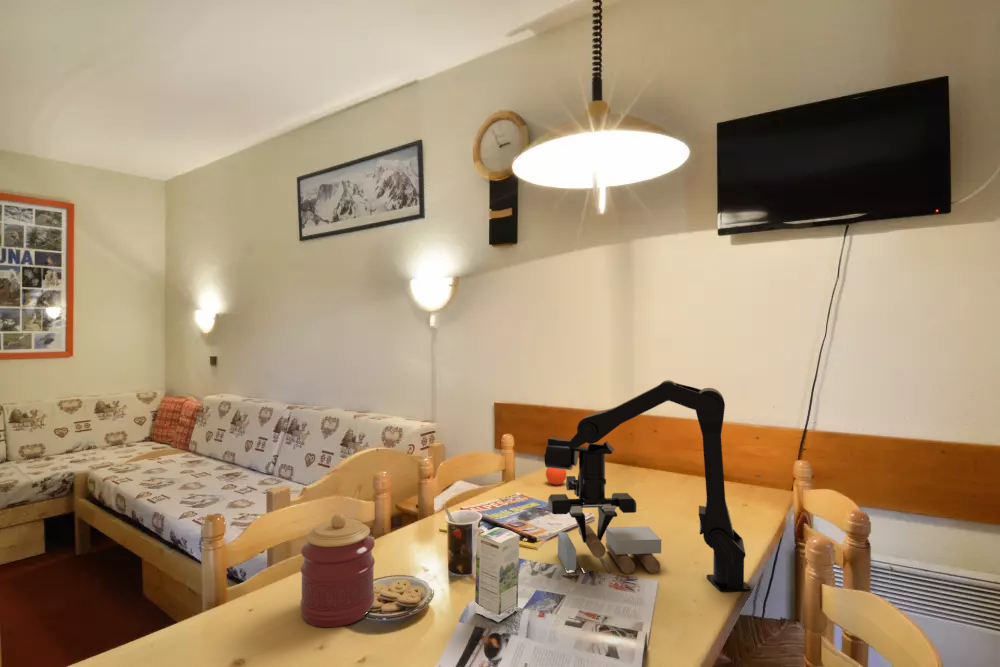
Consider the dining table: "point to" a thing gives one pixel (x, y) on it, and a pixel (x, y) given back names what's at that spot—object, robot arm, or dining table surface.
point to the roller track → (629, 561)
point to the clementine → (555, 475)
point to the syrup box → (497, 570)
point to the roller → (594, 543)
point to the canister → (337, 573)
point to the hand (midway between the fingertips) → (591, 541)
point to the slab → (633, 540)
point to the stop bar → (566, 551)
